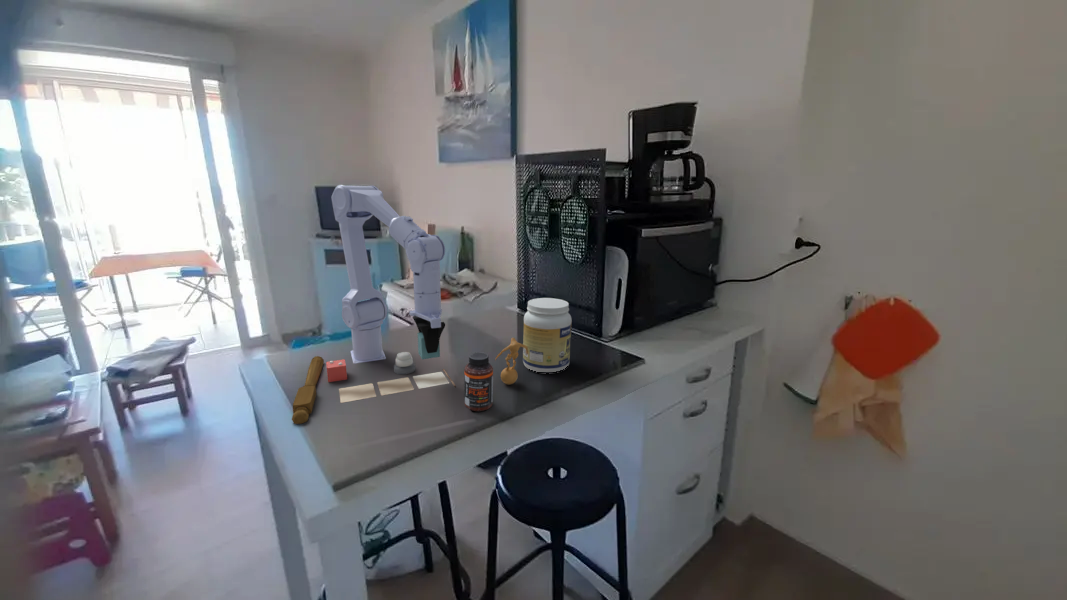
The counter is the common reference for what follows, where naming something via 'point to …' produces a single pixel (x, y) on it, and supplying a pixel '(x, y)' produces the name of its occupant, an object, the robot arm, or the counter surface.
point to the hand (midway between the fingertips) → (429, 348)
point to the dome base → (404, 369)
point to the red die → (336, 370)
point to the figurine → (510, 373)
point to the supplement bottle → (478, 382)
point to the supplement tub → (547, 335)
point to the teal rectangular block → (422, 348)
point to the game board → (393, 386)
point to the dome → (404, 359)
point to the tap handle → (307, 392)
